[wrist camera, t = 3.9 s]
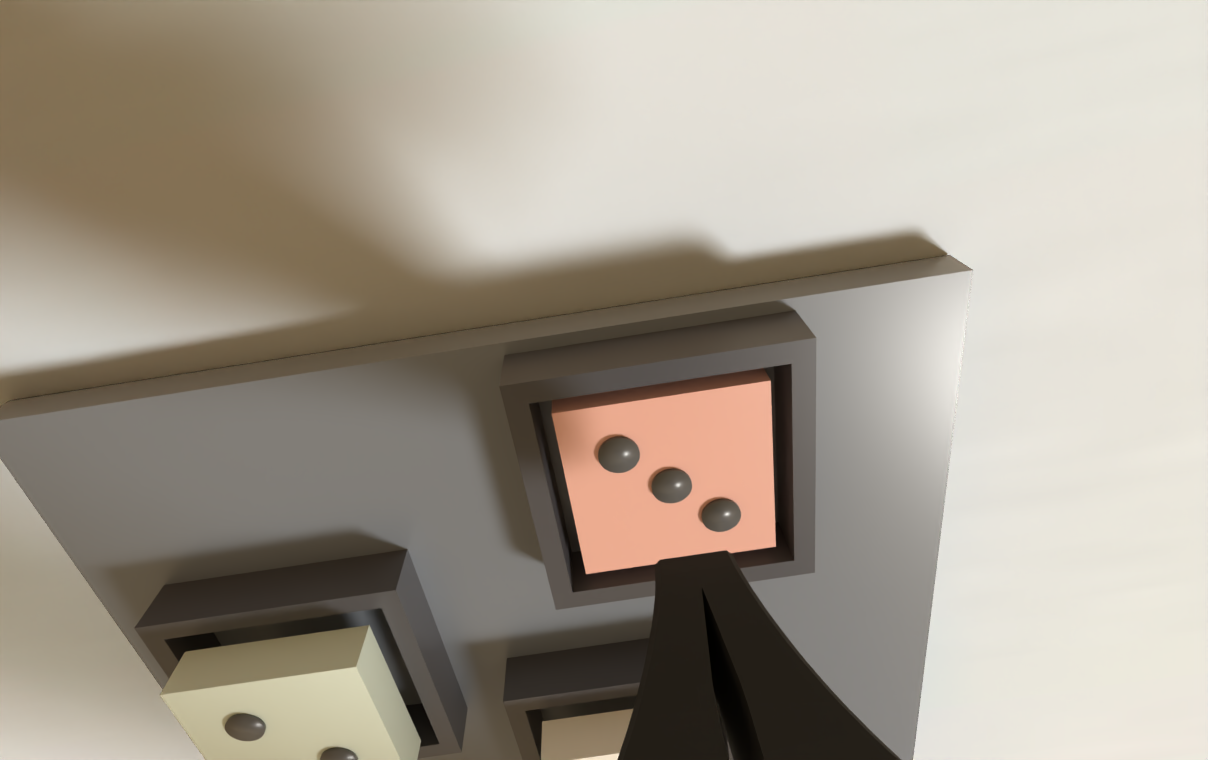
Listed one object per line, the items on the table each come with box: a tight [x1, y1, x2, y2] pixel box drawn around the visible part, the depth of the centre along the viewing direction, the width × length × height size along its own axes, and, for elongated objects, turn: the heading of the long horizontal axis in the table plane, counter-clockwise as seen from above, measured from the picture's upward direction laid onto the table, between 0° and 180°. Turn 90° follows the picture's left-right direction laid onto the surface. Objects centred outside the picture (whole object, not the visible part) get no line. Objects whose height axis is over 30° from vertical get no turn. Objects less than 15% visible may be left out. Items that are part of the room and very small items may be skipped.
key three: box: [552, 368, 776, 574], centre depth 16 cm, size 5×5×1 cm
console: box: [0, 255, 973, 760], centre depth 19 cm, size 18×22×2 cm
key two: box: [160, 625, 421, 760], centre depth 17 cm, size 5×5×1 cm
